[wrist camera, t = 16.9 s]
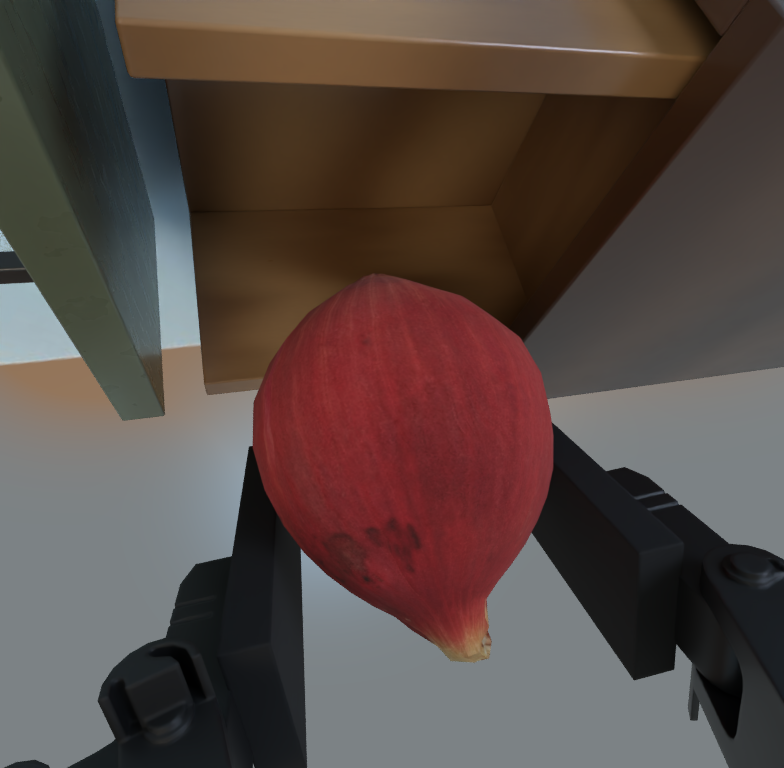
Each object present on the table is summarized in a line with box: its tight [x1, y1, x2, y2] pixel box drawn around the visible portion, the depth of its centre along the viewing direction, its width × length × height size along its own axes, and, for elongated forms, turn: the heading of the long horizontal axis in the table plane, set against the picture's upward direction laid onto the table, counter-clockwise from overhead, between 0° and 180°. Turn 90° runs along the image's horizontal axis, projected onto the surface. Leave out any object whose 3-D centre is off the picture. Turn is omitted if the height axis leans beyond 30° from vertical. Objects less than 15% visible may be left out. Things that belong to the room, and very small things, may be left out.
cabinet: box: [509, 0, 784, 399], centre depth 17 cm, size 16×14×10 cm
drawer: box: [0, 0, 723, 421], centre depth 14 cm, size 19×12×8 cm, turn 79°
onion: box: [253, 273, 553, 662], centre depth 11 cm, size 6×6×8 cm
